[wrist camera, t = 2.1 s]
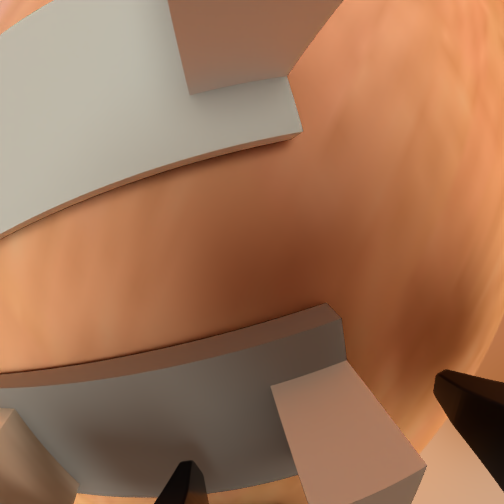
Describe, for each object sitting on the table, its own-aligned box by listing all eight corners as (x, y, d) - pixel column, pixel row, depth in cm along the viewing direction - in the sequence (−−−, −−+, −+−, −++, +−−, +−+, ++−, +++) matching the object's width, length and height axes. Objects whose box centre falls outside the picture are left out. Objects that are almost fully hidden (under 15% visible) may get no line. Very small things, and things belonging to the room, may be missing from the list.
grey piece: (343, 437, 10) (395, 533, 5) (12, 465, 9) (-14, 522, 4) (326, 302, 9) (440, 422, 3) (-52, 377, 7) (-100, 429, 2)
